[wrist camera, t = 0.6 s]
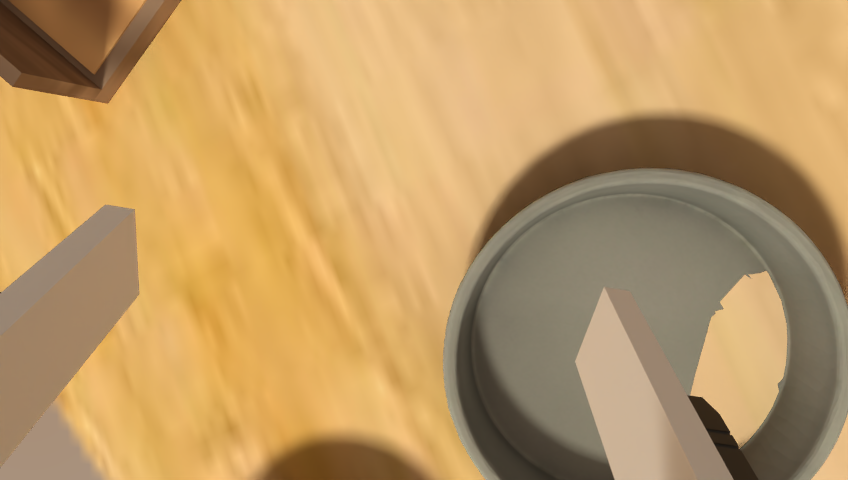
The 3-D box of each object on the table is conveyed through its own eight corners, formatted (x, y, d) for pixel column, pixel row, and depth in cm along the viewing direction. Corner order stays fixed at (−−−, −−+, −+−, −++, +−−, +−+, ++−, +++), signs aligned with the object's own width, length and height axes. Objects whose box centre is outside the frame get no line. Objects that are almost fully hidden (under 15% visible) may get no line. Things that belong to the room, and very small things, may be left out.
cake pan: (525, 559, 43) (529, 604, 38) (393, 250, 41) (382, 260, 37) (870, 450, 39) (918, 486, 35) (740, 108, 38) (774, 99, 33)
